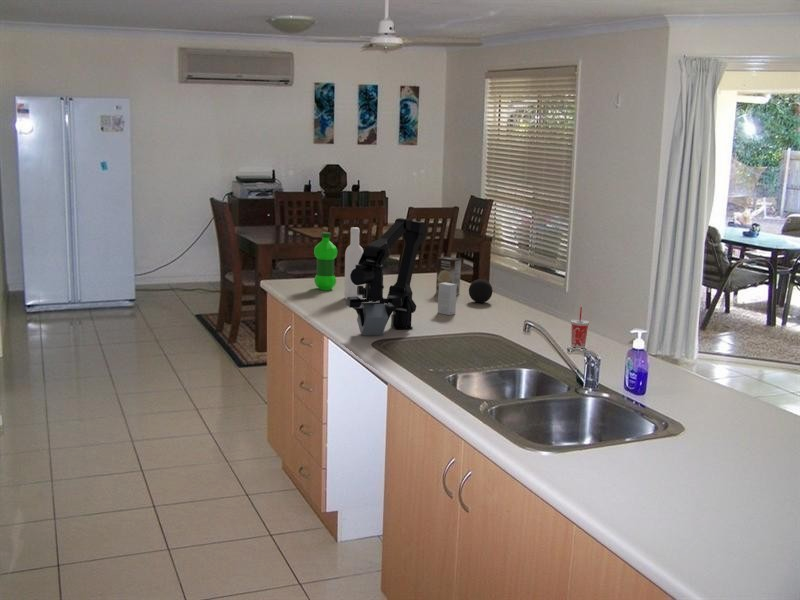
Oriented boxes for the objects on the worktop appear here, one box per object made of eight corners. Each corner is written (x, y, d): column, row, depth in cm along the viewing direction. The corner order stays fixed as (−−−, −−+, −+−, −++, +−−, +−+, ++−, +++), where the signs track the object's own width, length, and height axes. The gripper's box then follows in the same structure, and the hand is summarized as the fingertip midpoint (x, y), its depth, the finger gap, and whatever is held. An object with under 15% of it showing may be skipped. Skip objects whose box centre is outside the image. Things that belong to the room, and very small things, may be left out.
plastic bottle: (316, 286, 385) (316, 231, 380) (339, 287, 383) (340, 232, 378) (310, 290, 375) (311, 233, 370) (334, 291, 373) (335, 234, 368)
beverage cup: (565, 345, 292) (568, 305, 290) (580, 344, 295) (583, 304, 292) (575, 349, 287) (578, 309, 284) (590, 348, 289) (594, 308, 286)
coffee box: (435, 293, 377) (436, 257, 373) (442, 291, 382) (443, 256, 379) (453, 296, 372) (454, 260, 369) (460, 294, 377) (461, 258, 374)
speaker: (486, 299, 367) (487, 276, 365) (495, 304, 357) (497, 281, 355) (464, 300, 363) (465, 277, 361) (473, 305, 354) (474, 281, 352)
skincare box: (455, 314, 336) (457, 284, 334) (448, 315, 333) (450, 285, 331) (444, 311, 340) (445, 281, 338) (437, 312, 337) (438, 283, 335)
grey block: (377, 319, 303) (383, 302, 298) (382, 335, 298) (388, 317, 292) (356, 319, 301) (362, 301, 295) (361, 335, 295) (367, 317, 290)
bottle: (366, 299, 359) (368, 228, 353) (350, 301, 354) (351, 229, 348) (356, 296, 365) (358, 226, 359) (340, 297, 361) (342, 227, 355)
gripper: (393, 276, 303) (392, 319, 306) (342, 278, 297) (341, 321, 300) (403, 282, 292) (401, 326, 295) (350, 283, 287) (349, 328, 290)
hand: (373, 325), depth 295 cm, fingers closed on grey block, 8 cm apart
